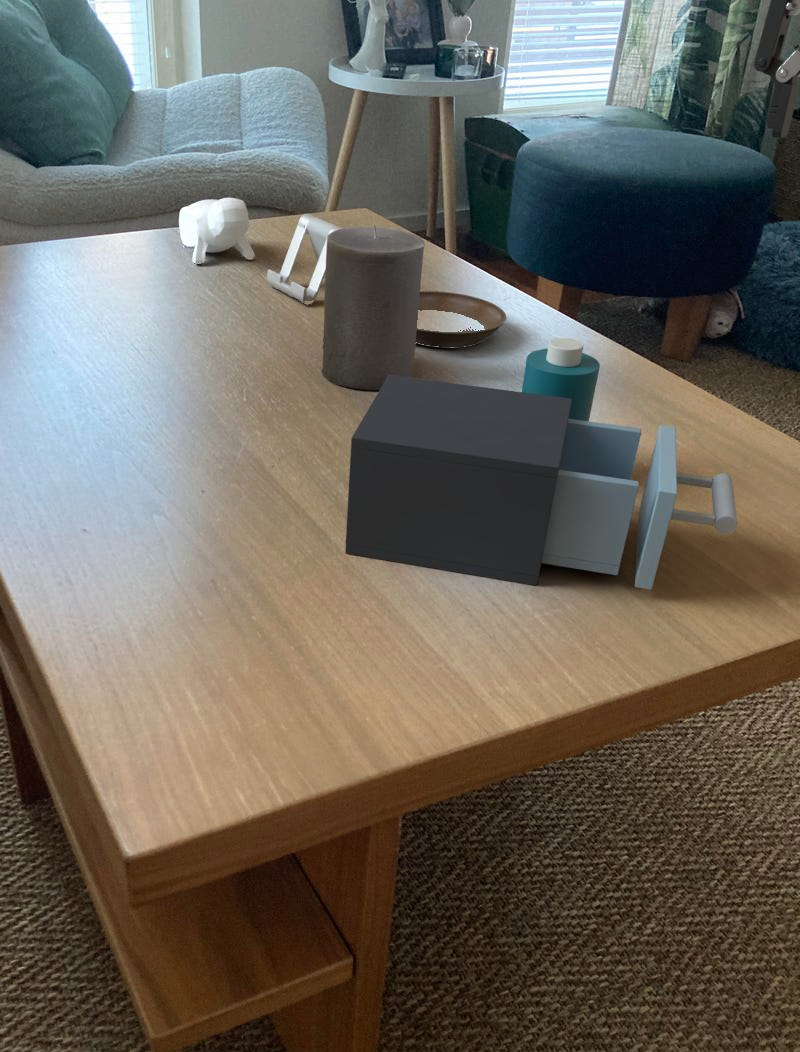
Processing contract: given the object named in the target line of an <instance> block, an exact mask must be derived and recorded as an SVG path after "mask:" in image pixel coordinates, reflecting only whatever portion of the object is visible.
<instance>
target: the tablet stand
mask: <svg viewBox="0 0 800 1052" xmlns="http://www.w3.org/2000/svg"><path fill="white" fill-rule="evenodd" d="M338 229H344V228H342V227H340V226H337V225H336V224H333V223H332V222H329V221H327V220H324V219H322V218H320V217H316V216H314V215H312V214H311V213H303V214H302V215H301V216H300V217H299V219H298V223H297V226H296V227H295V231H294V233H293V236H292V239H291V242H290V244H289V247H288V250H287V252H286V256H285V259H284V261H283V264H282V266H281V269H280V272H279V273H277V272H276V271H274V270H273V269H268V270H267V274H266V283H267V284H268V285H269V284H270V285H272V286H274V287H275V288H277V289H279V290H281V291H283V292H285V293H287V294H289V295H291V296H293V297H295V298H296V299H298V300H300V301H302V302H303V303H304V302H305V300H306V301H312V300H315V301H316V299H317V296H318V294H319V291H320V289H321V286H322V283H323V281H324V278H325V272H326V249H327V238H328V235H329V234H330V233H332V232H333V231H336V230H338ZM307 235H308V236H309V240H310V242H311V245H312V248H313V252H314V254H315V257H316V260H317V263H316V265H315V269H314V271H313V274H312V276H311V279H310V281H309V284H308V286H307V287H304V286H302V285H301V284H299V283H297V282H295V281H290V284H289V280H290V277H291V275H292V271H293V269H294V266H295V264H296V261H297V258H298V256H299V252H300V250H301V247H302V244H303V242H304V239H305V237H306V236H307ZM270 285H269V286H270ZM272 286H271V287H272ZM277 289H276V290H277ZM279 290H278V291H279ZM281 291H280V292H281ZM283 292H282V293H283ZM285 293H284V294H285ZM287 294H286V295H287ZM296 299H295V300H296ZM298 300H297V301H298ZM303 303H301V304H302V305H304V304H303ZM312 305H313V304H310V305H307V307H309V306H312Z"/></svg>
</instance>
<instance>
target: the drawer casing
mask: <svg viewBox="0 0 800 1052" xmlns="http://www.w3.org/2000/svg"><path fill="white" fill-rule="evenodd" d="M571 402H572V399H570V398H562V397H555V396H547V395H539V394H532V393H524V392H521V391H516V390H508V389H501V388H493V387H486V386H479V385H471V384H465V383H464V384H463V383H455V382H448V381H442V380H441V381H440V380H432V379H425V378H419V377H412V378H411V377H404V376H396V375H388V377H387V379H386V380H385V382H384V384H383V386H382V387H381V389H380V390H378V392H377V394H376V395H375V397H374V399H373V401H372V402H371V404H370V405H369V407H368V409H367V410H366V412H365V414H364V415H363V418H362V419H361V421H360V422H359V424H358V426H357V427H356V429H355V430H354V433H353V434H352V436H351V439H350V440H351V441H350V457H349V475H348V476H349V477H348V493H347V510H346V511H347V512H346V513H347V514H346V528H345V529H346V531H345V549H344V550H345V551H344V552H345V554H348V555H354V556H359V557H365V558H371V559H376V560H377V559H378V560H383V561H387V562H388V561H389V562H395V563H400V564H407V565H413V566H417V567H425V568H430V569H436V570H443V571H449V572H454V573H459V574H466V575H471V576H479V577H483V578H489V579H495V580H501V581H507V582H513V583H518V584H519V583H520V584H524V585H530V586H531V585H532V586H538V583H539V579H540V578H539V577H540V573H541V569H542V568H541V567H542V563H541V562H542V557H543V552H544V546H545V541H546V535H547V530H548V525H549V519H550V514H551V509H552V503H553V498H554V492H555V487H556V482H557V476H558V471H559V466H560V460H561V455H562V450H563V445H564V439H565V434H566V429H567V424H568V419H569V413H570V408H571Z"/></svg>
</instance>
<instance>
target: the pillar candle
mask: <svg viewBox="0 0 800 1052" xmlns="http://www.w3.org/2000/svg"><path fill="white" fill-rule="evenodd" d="M425 245H426V244H425V240H424V239H423V238H422V237H421V236H419V235H417V234H414V233H412V232H409V231H405V230H401V229H397V228H394V227H382V226H377V225H376V224H375V223H373V224H372V226H349V227H344V228H343V229H338V230H336V231H333V232H332V233H330V234H329V235H328V238H327V249H326V272H325V281H324V295H323V296H324V303H323V305H324V306H323V307H324V309H323V310H324V311H323V312H324V313H323V338H322V343H323V344H322V369H321V374H322V375H323V377H324V378H325V379H326V380H327V381H328V382H330V383H332V384H333V385H337V386H341V387H345V388H349V389H355V390H362V391H363V390H365V391H380V389H381V387H382V386H383V384H384V382H385V380H386V379H387V377H388V375H396V376H404V377H412V378H413V372H414V364H415V363H414V361H415V354H416V344H415V343H416V332H417V320H418V310H419V296H420V291H421V283H422V271H423V260H424V251H425Z"/></svg>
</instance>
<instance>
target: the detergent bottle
mask: <svg viewBox="0 0 800 1052" xmlns="http://www.w3.org/2000/svg"><path fill="white" fill-rule="evenodd" d="M583 350H584V344H583V343H582V342H581V341H579V340H577V339H575V338H574V339H573V338H569V337H555V338H552V339H550V340H549V341H548V346H547V348H542V349H537V350H534V351H532V352H530V353H528V354H527V356H526V360H525V366H524V373H523V380H522V385H521V386H522V387H521V391H520V392H524V393H532V394H539V395H547V396H555V397H562V398H570V399H572V402H571V408H570V413H569V419H575V420H582V421H589V422H590V417H591V414H592V413H591V412H592V407H593V403H594V399H595V398H594V397H595V393H596V389H597V388H596V387H597V382H598V377H599V372H600V368H601V364H600V362H599V361H598V360H597V359H596V358H595V357H594V356H592V355H590V354H588V353H584V351H583Z"/></svg>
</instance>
